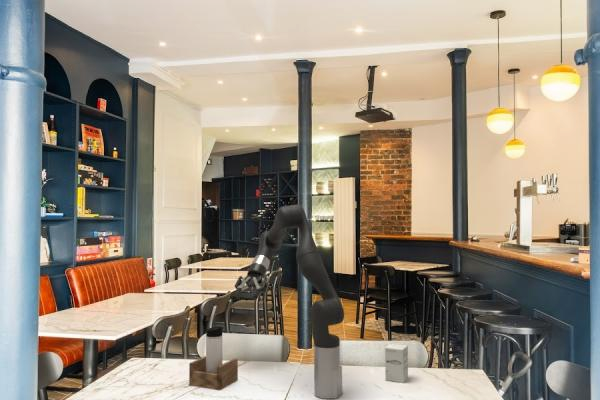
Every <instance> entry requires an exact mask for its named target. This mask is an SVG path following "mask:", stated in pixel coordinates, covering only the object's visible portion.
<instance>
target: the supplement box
mask: <svg viewBox="0 0 600 400" xmlns="http://www.w3.org/2000/svg"><path fill="white" fill-rule="evenodd" d="M384 348H385V349H384V355H385V356H384V359H385V360H384V361H385V363H384V365H385V366H384V367H385V378H384V379H385V381H390V382H397V383H402V384H404V383H405V382H406V381H407V379H409V357H408V356H409V354H408V353H409V350H408V349H409V346H408V345H404V344H396V343H389V344H388V345H386V346H385V347H384Z"/></svg>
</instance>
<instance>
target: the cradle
mask: <svg viewBox="0 0 600 400" xmlns="http://www.w3.org/2000/svg"><path fill="white" fill-rule="evenodd" d="M238 365H239V364H238V358H232V359H230V360H229V361H227V362H224V363H222V365H220V366H218V367H217V374H213V373H206V355H205V356H203V357H201V358H198V359H196V360H194V361H191V362H189V366H188V367H189V368H188V371H189V374H188V375H189V381H188V383H189V385H188V386H191V387H192V386H194V387H198V388H205V389H212V390H217V391H222V389H225V388H227V387H228V386H230V385H232V384H234V383H235V382H238V380H239V379H238V378H239V377H238V375H239V374H238Z"/></svg>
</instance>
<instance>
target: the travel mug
mask: <svg viewBox="0 0 600 400" xmlns="http://www.w3.org/2000/svg"><path fill="white" fill-rule="evenodd" d="M223 330H224V326H213V327H208V329H206V332H205V333H206V334H205V356H206V373H213V374H217V367H218V366H220V365H222V364H223Z"/></svg>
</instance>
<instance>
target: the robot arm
mask: <svg viewBox="0 0 600 400" xmlns="http://www.w3.org/2000/svg"><path fill="white" fill-rule="evenodd" d="M273 220H274V221H273V224H272V226H271V228H270V229H269V230H265V231H263V232H262V233H261V235H260V237H259V246H258V250H257V252H256V255H255V257H254V258H253V260H252V262H251V264H250V267H249V269H248V271H247V274H246V276H245V277H243V276H242V275H240V276H239V277H238V278H237V280H236V283H235V284H234V288H235V290H236V292H235V294H234V295H235V298H236V299H239V298H240V296H241V294H242V293H243V291H245V290H246V289H249V288H256V289H255V291H254V293H253V295H252V298H253V300H258V298H259V297H260V294H261V293H262V292H264V293H265V292H266V291H267V289H268V285H269V283H270V281H269V278H268V277H267V276H266V274H267V272H268V270H269V266H270V263H271V262H272V259H273V256H274V251H279V250H280V249H281V247H282V245H283V239H284V238H285V237H286V234H287V230H288V229H296V228H298V230H299V233H300V236H299V241H298V245H297V250H296V253H295V259H296V262H297V265H298V268H299V270H300V273H301V275H302V276H303V277H304V278H305V279H306V281H308V282H309V284H311V285H312V287H314V288H315V289H316V290H317V292H318V293H319V295H320V296H321V300H320V299H319V300H316V301H314V302H313V304H312V305H311V309H310V320H311V335H312V340H313V366H314V367H313V376H314V377H313V380H314V382H313V383H314V385H313V389H314V396H316V398H320V399H326V400H327V399H330V400H331V399H338V398H339V397H340V396H341V395H342V394H343V366H342V365H341V354H340V352H341V348H340V347H341V346H340V345H341V344H340V342H341V341H340V337H339V336H338V335H336V334H332V333H330V331H329V329H330V328H329V326H335V325H340V324H341V323H342V322H343V321H344V319H345V311H344V306H343V303H342V302H341V300H340V298H339V295H338V293H337V292H336V290H335V288H334V285H333V284H332V281H331V280H330V277H329V274H328V272H327V270H326V267H325V265H324V261H323V258H322V256H321V254H320V252H319V249H318V247H317V244H316V242H315V239H314V238H313V234H312V231H311V228H310V224H309V222H308V218H307V214H306V211H305V210H304V207H303V206H302V205H301V204H293V205H292V204H291V205H284V206H280V207H279V208H278V210H276V214H275V216H274V219H273ZM260 285H261V286H260Z"/></svg>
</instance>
